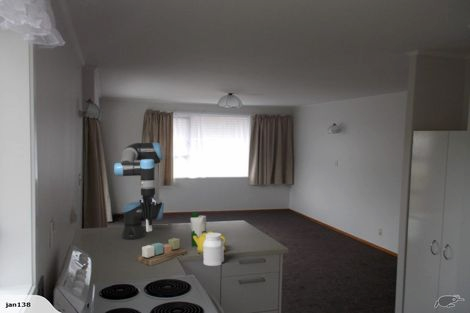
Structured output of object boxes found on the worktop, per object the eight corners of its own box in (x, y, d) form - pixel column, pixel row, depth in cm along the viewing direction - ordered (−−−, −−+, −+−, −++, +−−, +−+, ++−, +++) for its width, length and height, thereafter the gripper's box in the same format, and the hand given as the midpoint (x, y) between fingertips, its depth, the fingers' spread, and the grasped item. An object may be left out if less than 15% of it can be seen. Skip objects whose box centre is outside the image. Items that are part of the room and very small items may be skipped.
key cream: (142, 256, 200) (142, 246, 200) (149, 253, 204) (149, 245, 203) (147, 257, 197) (147, 248, 197) (154, 255, 201) (154, 246, 200)
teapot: (189, 253, 214) (189, 233, 213) (197, 247, 225) (197, 228, 225) (222, 256, 208) (221, 235, 207) (228, 249, 220) (228, 230, 219)
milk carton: (194, 243, 235) (193, 211, 234) (208, 243, 233) (207, 212, 232) (189, 247, 226) (189, 214, 225) (204, 247, 224) (203, 215, 223)
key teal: (151, 253, 205) (151, 244, 205) (158, 251, 208) (157, 242, 208) (156, 254, 202) (156, 245, 202) (163, 252, 205) (163, 243, 205)
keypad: (135, 260, 203) (135, 256, 202) (171, 249, 222) (170, 245, 221) (151, 266, 193) (151, 261, 193) (186, 254, 212) (186, 249, 212)
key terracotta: (160, 254, 209) (159, 245, 209) (166, 252, 213) (166, 243, 213) (165, 255, 206) (165, 247, 206) (171, 253, 210) (171, 245, 210)
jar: (219, 266, 191) (218, 238, 190) (201, 265, 193) (201, 237, 192) (225, 259, 202) (224, 232, 201) (208, 258, 204) (207, 231, 204)
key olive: (168, 248, 214) (168, 239, 214) (174, 246, 217) (174, 237, 217) (173, 249, 211) (173, 240, 211) (179, 247, 214) (179, 239, 214)
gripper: (134, 187, 200) (136, 230, 202) (149, 189, 192) (151, 234, 193) (146, 186, 206) (147, 228, 207) (161, 187, 198) (162, 231, 199)
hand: (149, 231), depth 200 cm, fingers closed
